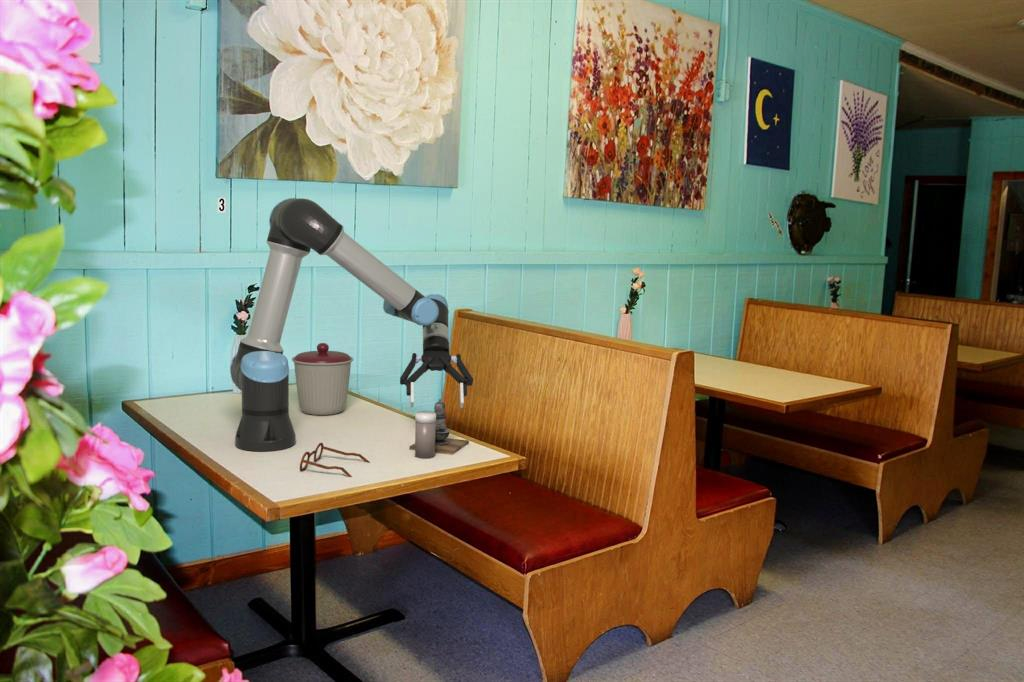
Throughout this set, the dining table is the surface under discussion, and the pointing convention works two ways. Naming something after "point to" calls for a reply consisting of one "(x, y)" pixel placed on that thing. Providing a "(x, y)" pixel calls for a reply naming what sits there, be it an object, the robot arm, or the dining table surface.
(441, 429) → the grey tiered figurine
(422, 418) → the pepper shaker
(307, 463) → the glasses
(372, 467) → the dining table surface
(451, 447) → the walnut board
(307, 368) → the canister
